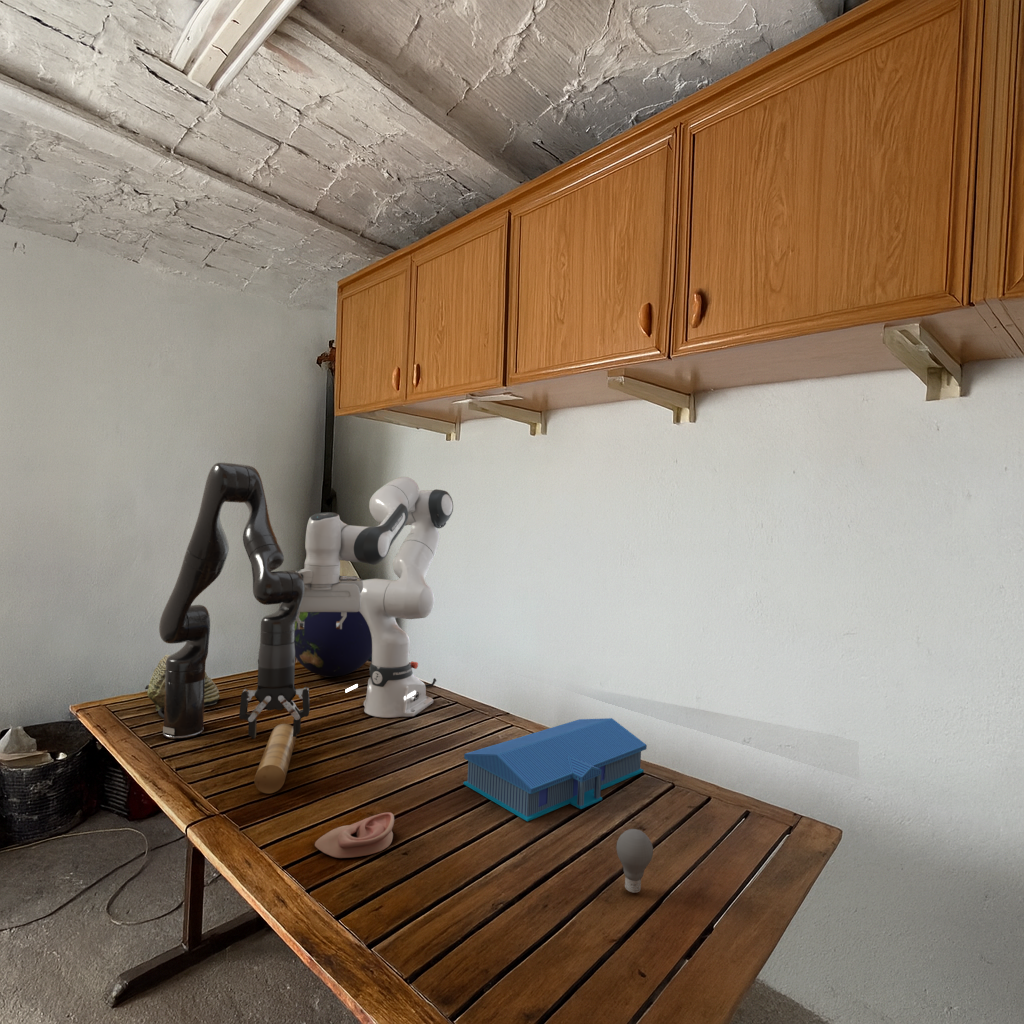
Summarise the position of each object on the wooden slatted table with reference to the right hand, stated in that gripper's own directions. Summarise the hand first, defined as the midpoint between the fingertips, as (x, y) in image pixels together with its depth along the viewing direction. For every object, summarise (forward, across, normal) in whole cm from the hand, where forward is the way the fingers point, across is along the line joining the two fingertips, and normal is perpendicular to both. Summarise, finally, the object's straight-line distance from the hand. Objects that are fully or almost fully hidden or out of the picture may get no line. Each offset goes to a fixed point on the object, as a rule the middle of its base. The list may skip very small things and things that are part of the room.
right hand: (320, 629), depth 163 cm
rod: (+29, +8, +16) cm, 34 cm away
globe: (+29, -2, -60) cm, 66 cm away
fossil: (+29, +39, -31) cm, 58 cm away
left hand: (+18, +7, +24) cm, 32 cm away
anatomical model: (+29, -10, +51) cm, 60 cm away
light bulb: (+29, -56, +73) cm, 96 cm away
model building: (+29, -57, +31) cm, 71 cm away
